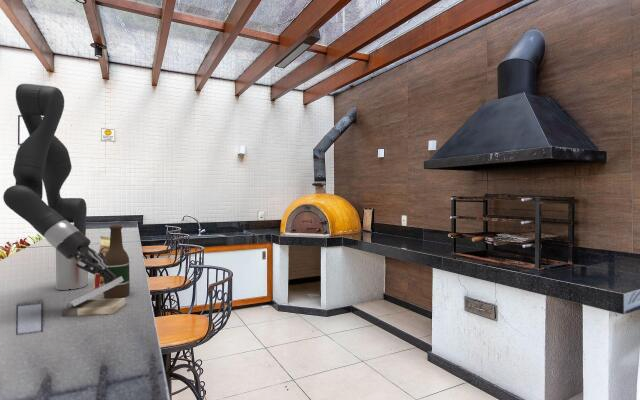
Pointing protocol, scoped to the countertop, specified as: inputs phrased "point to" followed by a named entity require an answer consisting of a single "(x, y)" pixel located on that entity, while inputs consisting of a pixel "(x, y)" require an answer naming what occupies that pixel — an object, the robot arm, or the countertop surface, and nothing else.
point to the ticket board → (95, 307)
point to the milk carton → (103, 249)
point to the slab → (95, 292)
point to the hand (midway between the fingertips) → (112, 279)
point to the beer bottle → (117, 264)
